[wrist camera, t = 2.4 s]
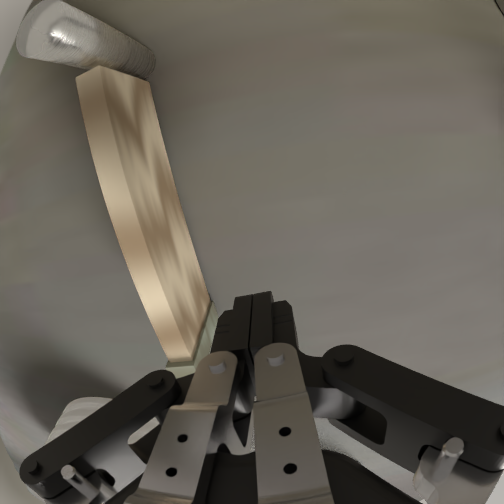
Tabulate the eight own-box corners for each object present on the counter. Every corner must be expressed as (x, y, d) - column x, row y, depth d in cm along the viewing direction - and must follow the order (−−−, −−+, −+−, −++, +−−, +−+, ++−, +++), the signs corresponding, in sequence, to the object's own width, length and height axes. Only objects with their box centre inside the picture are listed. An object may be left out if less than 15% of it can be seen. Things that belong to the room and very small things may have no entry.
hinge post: (117, 55, 19) (15, 20, 8) (151, 41, 18) (62, -13, 7) (123, 87, 20) (17, 68, 9) (158, 74, 19) (66, 36, 8)
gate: (127, 90, 19) (67, 78, 12) (151, 81, 19) (97, 62, 12) (196, 319, 26) (174, 384, 19) (218, 316, 26) (201, 382, 19)
